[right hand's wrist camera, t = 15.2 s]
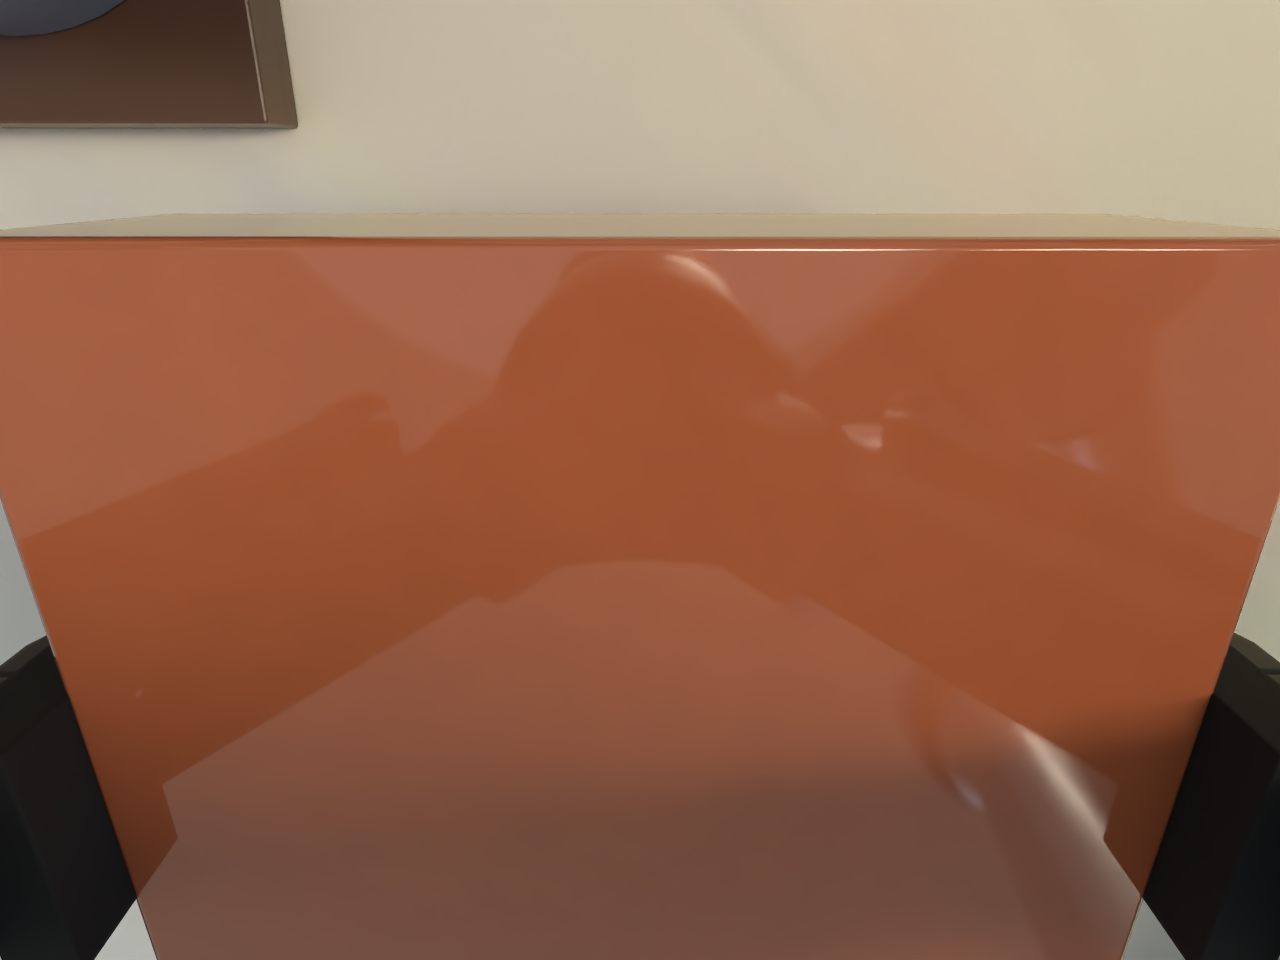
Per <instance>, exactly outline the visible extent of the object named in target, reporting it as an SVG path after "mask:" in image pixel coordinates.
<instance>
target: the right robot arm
mask: <svg viewBox="0 0 1280 960" xmlns="http://www.w3.org/2000/svg"><path fill="white" fill-rule="evenodd" d="M136 898H137V897H136V894H135V891H134V888H133V885H132V882H131V880H130V877H129V874H128V871H127V868H126V865H125V862H124V859H123V856H122V853H121V850H120V847H119V844H118V841H117V838H116V835H115V832H114V829H113V827H112V824H111V821H110V818H109V815H108V812H107V809H106V806H105V803H104V800H103V797H102V794H101V791H100V788H99V785H98V782H97V779H96V777H95V774H94V771H93V768H92V765H91V762H90V759H89V756H88V753H87V750H86V747H85V744H84V741H83V738H82V735H81V732H80V729H79V726H78V724H77V721H76V718H75V715H74V712H73V709H72V706H71V703H70V700H69V697H68V694H67V693H66V690H65V687H64V685H63V682H62V679H61V676H60V673H59V670H58V667H57V664H56V661H55V658H54V655H53V652H52V649H51V646H50V643H49V640H48V637H47V636H45V637H43V638H41V639H39V640H37V641H35V642H33V643H31V644H29V645H27V646H25V647H24V648H23V649H22V650H20V651H19V652H18V653H16V654H15V655H14V656H12V657H11V658H10V659H9V660H7V661H6V662H5V663H3V664H2V665H1V666H0V957H1V959H2V960H94V959H95V958H96V956H97V955H98V953H99V952H100V950H101V949H102V947H103V946H104V945H105V943H106V942H107V940H108V939H109V937H110V936H111V934H112V933H113V932H114V930H115V929H116V927H117V926H118V924H119V923H120V921H121V920H122V919H123V917H124V916H125V914H126V913H127V911H128V910H129V908H130V907H131V906H132V904H133V903H134V901H135V900H136ZM1143 899H1144V900H1145V902H1146V903H1147V905H1148V906H1149V908H1150V909H1151V911H1152V912H1153V913H1154V915H1155V916H1156V918H1157V919H1158V921H1159V922H1160V924H1161V925H1162V926H1163V928H1164V929H1165V931H1166V932H1167V934H1168V935H1169V937H1170V938H1171V940H1172V941H1173V942H1174V944H1175V945H1176V947H1177V948H1178V950H1179V951H1180V953H1181V954H1182V955H1183V957H1184V958H1185V960H1278V958H1279V955H1280V662H1278V661H1277V660H1276V659H1274V658H1273V657H1272V656H1270V655H1269V654H1268V653H1267V652H1265V651H1264V650H1263V649H1261V648H1260V647H1259V646H1257V645H1256V644H1255V643H1253V642H1251V641H1249V640H1247V639H1245V638H1243V637H1241V636H1239V635H1237V634H1235V633H1233V636H1232V639H1231V642H1230V645H1229V648H1228V651H1227V654H1226V657H1225V660H1224V663H1223V666H1222V669H1221V672H1220V675H1219V677H1218V680H1217V683H1216V686H1215V689H1214V692H1213V693H1212V696H1211V699H1210V702H1209V705H1208V708H1207V711H1206V714H1205V717H1204V720H1203V723H1202V726H1201V729H1200V732H1199V734H1198V737H1197V740H1196V743H1195V746H1194V749H1193V752H1192V755H1191V758H1190V761H1189V764H1188V767H1187V770H1186V773H1185V776H1184V779H1183V782H1182V784H1181V787H1180V790H1179V793H1178V796H1177V799H1176V802H1175V805H1174V808H1173V811H1172V814H1171V817H1170V820H1169V823H1168V826H1167V829H1166V832H1165V834H1164V837H1163V840H1162V843H1161V846H1160V849H1159V852H1158V855H1157V858H1156V861H1155V864H1154V867H1153V870H1152V873H1151V876H1150V879H1149V882H1148V884H1147V887H1146V890H1145V893H1144V896H1143Z"/></svg>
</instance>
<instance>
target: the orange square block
mask: <svg viewBox="0 0 1280 960" xmlns="http://www.w3.org/2000/svg"><path fill="white" fill-rule="evenodd" d="M1279 498H1280V230H1272V229H1261V228H1251V227H1240V226H1229V225H1218V224H1208V223H1197V222H1186V221H1175V220H1165V219H1154V218H1143V217H1132V216H1122V215H1111V214H166V215H155V216H144V217H133V218H122V219H111V220H100V221H90V222H79V223H68V224H57V225H46V226H35V227H24V228H14V229H3V230H0V499H1V502H2V505H3V508H4V511H5V514H6V517H7V520H8V523H9V526H10V529H11V532H12V535H13V538H14V540H15V543H16V546H17V549H18V552H19V555H20V558H21V561H22V564H23V567H24V570H25V573H26V576H27V579H28V582H29V585H30V587H31V590H32V593H33V596H34V599H35V602H36V605H37V608H38V611H39V614H40V617H41V620H42V623H43V626H44V629H45V632H46V635H47V637H48V640H49V643H50V646H51V649H52V652H53V655H54V658H55V661H56V664H57V667H58V670H59V673H60V676H61V679H62V682H63V685H64V687H65V690H66V693H67V694H68V697H69V700H70V703H71V706H72V709H73V712H74V715H75V718H76V721H77V724H78V726H79V729H80V732H81V735H82V738H83V741H84V744H85V747H86V750H87V753H88V756H89V759H90V762H91V765H92V768H93V771H94V774H95V777H96V779H97V782H98V785H99V788H100V791H101V794H102V797H103V800H104V803H105V806H106V809H107V812H108V815H109V818H110V821H111V824H112V827H113V829H114V832H115V835H116V838H117V841H118V844H119V847H120V850H121V853H122V856H123V859H124V862H125V865H126V868H127V871H128V874H129V877H130V880H131V882H132V885H133V888H134V891H135V894H136V897H137V898H136V899H137V902H138V905H139V908H140V911H141V914H142V917H143V920H144V923H145V926H146V929H147V932H148V934H149V937H150V940H151V943H152V946H153V949H154V952H155V955H156V958H157V960H1122V959H1123V956H1124V953H1125V951H1126V948H1127V945H1128V942H1129V939H1130V936H1131V933H1132V930H1133V927H1134V924H1135V921H1136V918H1137V915H1138V912H1139V909H1140V906H1141V904H1142V901H1143V896H1144V893H1145V890H1146V887H1147V884H1148V882H1149V879H1150V876H1151V873H1152V870H1153V867H1154V864H1155V861H1156V858H1157V855H1158V852H1159V849H1160V846H1161V843H1162V840H1163V837H1164V834H1165V832H1166V829H1167V826H1168V823H1169V820H1170V817H1171V814H1172V811H1173V808H1174V805H1175V802H1176V799H1177V796H1178V793H1179V790H1180V787H1181V784H1182V782H1183V779H1184V776H1185V773H1186V770H1187V767H1188V764H1189V761H1190V758H1191V755H1192V752H1193V749H1194V746H1195V743H1196V740H1197V737H1198V734H1199V732H1200V729H1201V726H1202V723H1203V720H1204V717H1205V714H1206V711H1207V708H1208V705H1209V702H1210V699H1211V696H1212V693H1213V692H1214V689H1215V686H1216V683H1217V680H1218V677H1219V675H1220V672H1221V669H1222V666H1223V663H1224V660H1225V657H1226V654H1227V651H1228V648H1229V645H1230V642H1231V639H1232V636H1233V633H1234V630H1235V628H1236V625H1237V622H1238V619H1239V616H1240V613H1241V610H1242V607H1243V604H1244V601H1245V598H1246V595H1247V592H1248V589H1249V586H1250V583H1251V581H1252V578H1253V575H1254V572H1255V569H1256V566H1257V563H1258V560H1259V557H1260V554H1261V551H1262V548H1263V545H1264V542H1265V539H1266V536H1267V534H1268V531H1269V528H1270V525H1271V522H1272V519H1273V516H1274V513H1275V510H1276V507H1277V504H1278V501H1279Z"/></svg>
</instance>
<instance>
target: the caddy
mask: <svg viewBox="0 0 1280 960" xmlns="http://www.w3.org/2000/svg"><path fill="white" fill-rule="evenodd" d="M297 126H298V123H297V116H296V110H295V103H294V96H293V90H292V83H291V76H290V70H289V63H288V56H287V50H286V43H285V36H284V29H283V23H282V16H281V9H280V3H279V0H0V128H296V127H297Z"/></svg>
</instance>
